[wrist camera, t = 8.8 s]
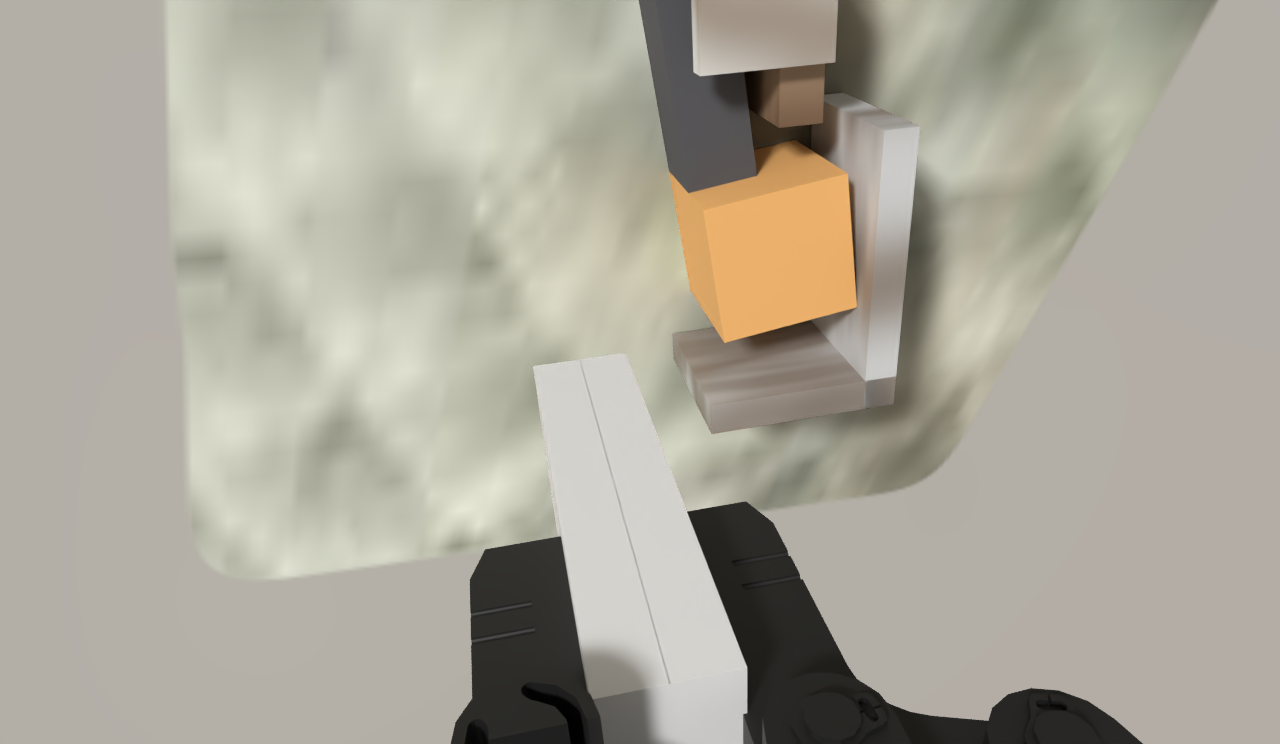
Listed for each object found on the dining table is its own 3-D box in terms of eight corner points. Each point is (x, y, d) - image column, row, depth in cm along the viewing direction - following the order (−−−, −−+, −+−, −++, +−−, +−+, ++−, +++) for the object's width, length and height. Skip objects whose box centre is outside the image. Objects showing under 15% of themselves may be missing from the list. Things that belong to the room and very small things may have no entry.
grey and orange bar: (587, -289, 25) (615, -333, 20) (749, -322, 25) (810, -373, 21) (690, 289, 34) (724, 342, 30) (806, 259, 34) (856, 307, 30)
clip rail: (641, -283, 25) (690, -337, 20) (863, -292, 26) (965, -347, 21) (674, 359, 35) (711, 434, 30) (830, 335, 36) (893, 404, 31)
